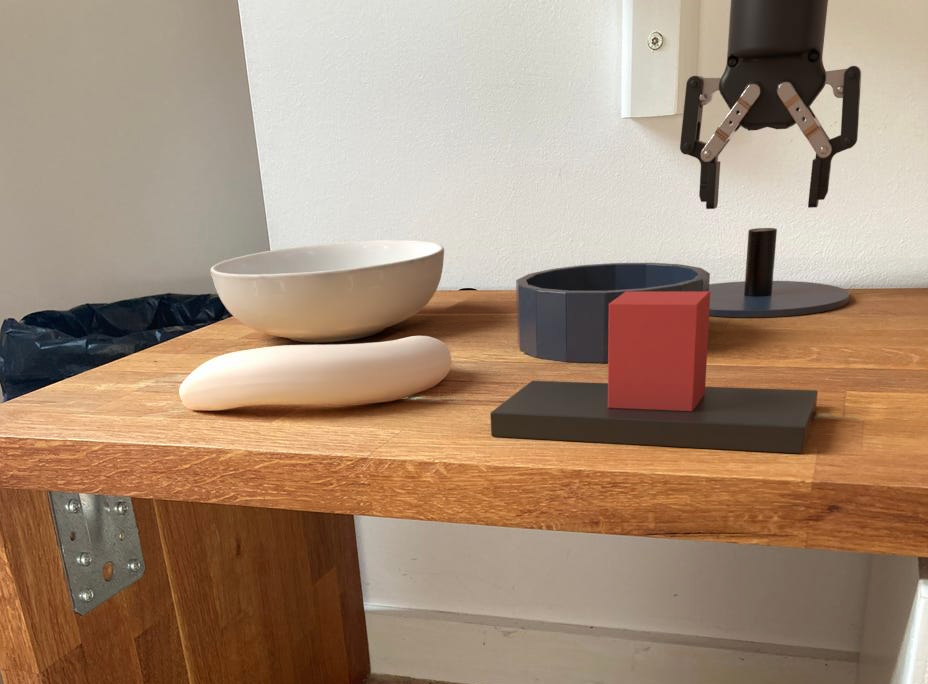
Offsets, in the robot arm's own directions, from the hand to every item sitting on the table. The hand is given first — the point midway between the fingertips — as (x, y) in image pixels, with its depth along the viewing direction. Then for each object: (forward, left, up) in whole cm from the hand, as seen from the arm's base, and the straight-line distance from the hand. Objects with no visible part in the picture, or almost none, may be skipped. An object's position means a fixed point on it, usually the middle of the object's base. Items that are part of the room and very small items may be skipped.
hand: (761, 207), depth 89 cm
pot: (+9, +18, -9) cm, 22 cm away
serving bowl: (+36, +14, -9) cm, 39 cm away
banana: (+26, +35, -9) cm, 44 cm away
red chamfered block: (+1, +39, -7) cm, 39 cm away
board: (+1, +39, -9) cm, 40 cm away
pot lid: (0, 0, -8) cm, 8 cm away
